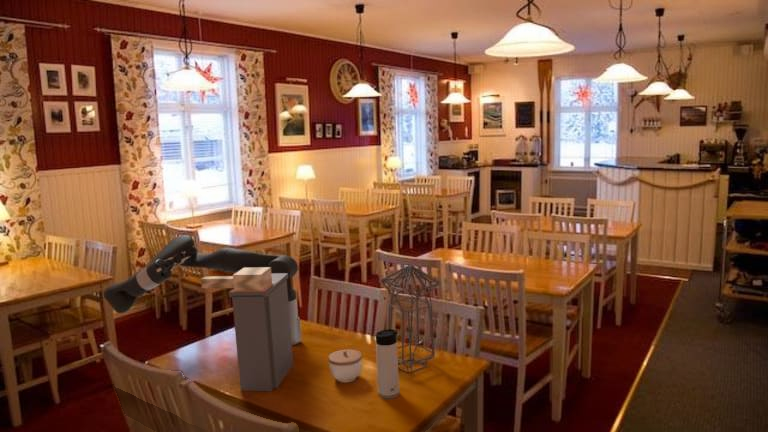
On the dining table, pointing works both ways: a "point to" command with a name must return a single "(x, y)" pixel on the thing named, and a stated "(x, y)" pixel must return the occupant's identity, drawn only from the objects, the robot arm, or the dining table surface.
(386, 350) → the travel mug
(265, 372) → the tall grey pillar box
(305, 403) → the dining table surface
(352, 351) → the lidded jar
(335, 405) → the dining table surface
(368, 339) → the dining table surface
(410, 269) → the geometric lantern
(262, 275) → the beech mallet
